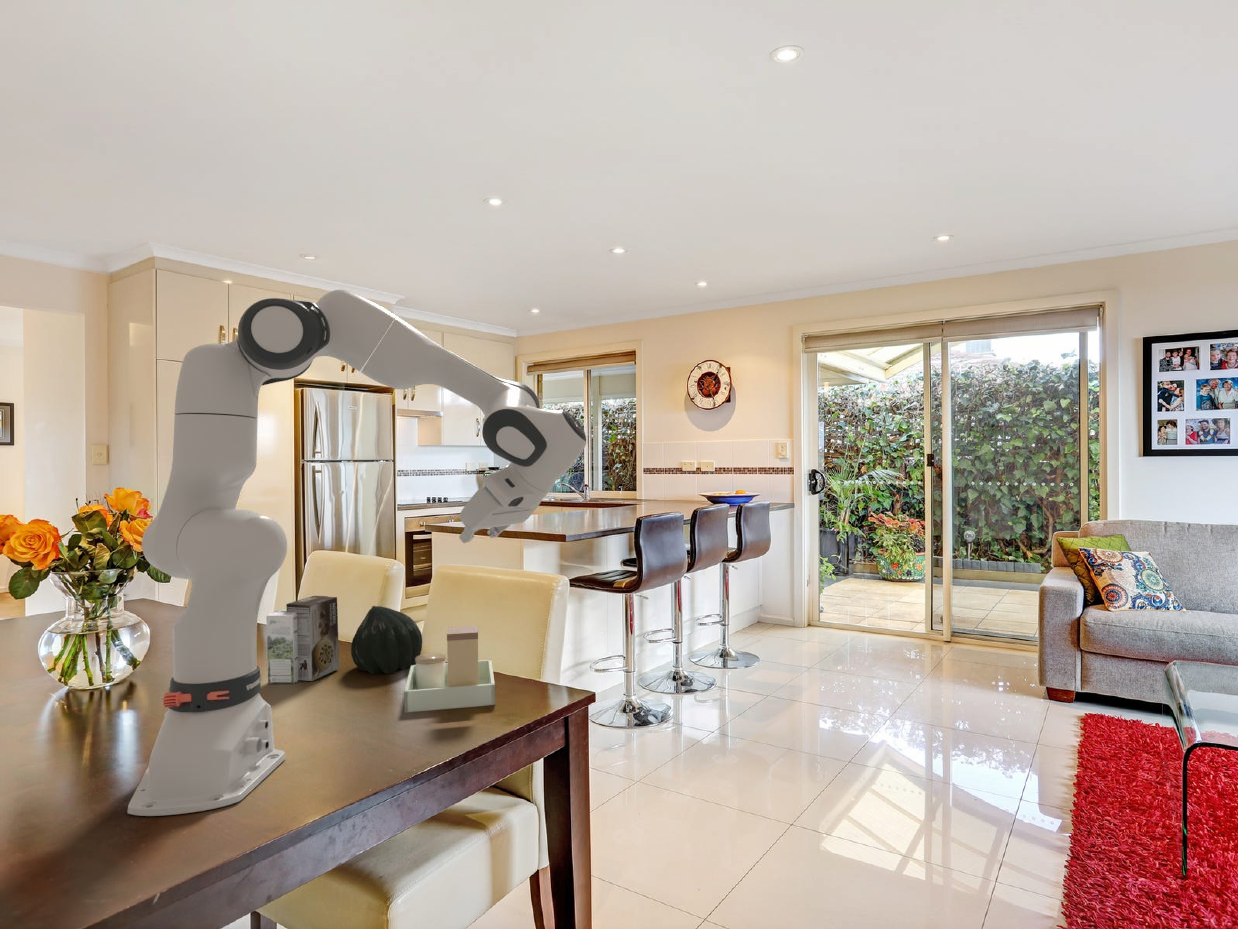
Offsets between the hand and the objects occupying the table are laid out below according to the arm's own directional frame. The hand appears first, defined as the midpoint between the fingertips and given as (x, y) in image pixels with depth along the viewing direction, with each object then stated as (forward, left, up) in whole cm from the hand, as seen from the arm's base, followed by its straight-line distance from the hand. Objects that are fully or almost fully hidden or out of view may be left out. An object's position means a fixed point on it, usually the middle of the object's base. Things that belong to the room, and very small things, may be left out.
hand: (477, 537), depth 137 cm
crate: (+3, +5, -31) cm, 32 cm away
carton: (-1, +3, -30) cm, 30 cm away
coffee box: (+26, +35, -31) cm, 53 cm away
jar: (+8, +9, -30) cm, 33 cm away
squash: (+26, +19, -31) cm, 45 cm away
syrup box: (+24, +40, -31) cm, 56 cm away
